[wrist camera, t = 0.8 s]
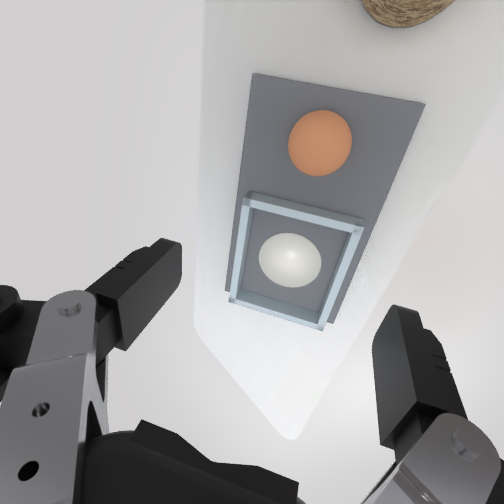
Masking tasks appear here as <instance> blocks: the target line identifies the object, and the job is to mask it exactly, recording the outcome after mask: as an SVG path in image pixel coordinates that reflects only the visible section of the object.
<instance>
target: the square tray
mask: <svg viewBox="0 0 504 504" xmlns="http://www.w3.org/2000/svg"><path fill="white" fill-rule="evenodd" d="M254 208H256V209H260V210H264V211H268V212H272V213H276V214H280V215H283V216H287V217H291V218H295V219H299V220H303V221H307V222H311V223H315V224H319V225H323V226H327V227H331V228H334V229H338V230H342V231H346V232H349V234H348V237H347V239H346V242H345V245H344V247H343V250H342V253H341V255H340V258H339V261H338V263H337V266H336V269H335V272H334V274H333V277H332V280H331V282H330V285H329V288H328V290H327V293H326V296H325V298H324V301H323V304H322V306H321V309H320V312H319V313H318V312H314V311H311V310H308V309H304V308H301V307H298V306H295V305H291V304H288V303H285V302H281V301H278V300H275V299H271V298H268V297H265V296H262V295H258V294H255V293H252V292H248V291H245V290H242V289H241V283H242V277H243V271H244V265H245V259H246V253H247V247H248V241H249V235H250V228H251V222H252V216H253V210H254ZM363 230H364V221H363V219H360V218H356V217H352V216H348V215H344V214H340V213H336V212H332V211H328V210H324V209H320V208H316V207H312V206H307V205H303V204H299V203H295V202H291V201H287V200H283V199H279V198H275V197H271V196H267V195H263V194H259V193H255V192H251V191H249V192H248V193H247V194H246V195H245V196H244V197H243V202H242V209H241V216H240V223H239V230H238V237H237V245H236V252H235V259H234V266H233V273H232V280H231V287H230V295H229V302H230V303H234V304H237V305H240V306H243V307H246V308H250V309H253V310H256V311H259V312H262V313H266V314H269V315H272V316H275V317H278V318H282V319H285V320H288V321H291V322H294V323H297V324H301V325H304V326H307V327H310V328H313V329H317V330H320V331H323V329H324V327H325V324H326V322H327V319H328V317H329V314H330V312H331V309H332V307H333V304H334V302H335V299H336V297H337V294H338V292H339V289H340V287H341V284H342V282H343V280H344V277H345V275H346V272H347V270H348V267H349V265H350V262H351V260H352V257H353V255H354V252H355V250H356V247H357V245H358V242H359V240H360V237H361V235H362V232H363ZM259 264H260V267H261V269H262V271H263V272H264V274H265V275H266V276H267V277H268V278H269V279H270V280H272V281H273V282H275V283H277V284H279V285H281V286H285V287H301V286H305V285H307V284H309V283H311V282H312V281H313V280H314V279H315V278H316V277H317V276H318V274H319V272H320V269H321V255H320V253H319V250H318V249H317V247H316V246H315V244H314V243H313V242H312V241H310V240H309V239H308V238H306V237H304V236H302V235H299V234H296V233H290V232H285V233H279V234H276V235H273V236H271V237H270V238H268V239H267V240H266V241H265V242H264V244H263V245H262V247H261V249H260V252H259Z"/></svg>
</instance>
